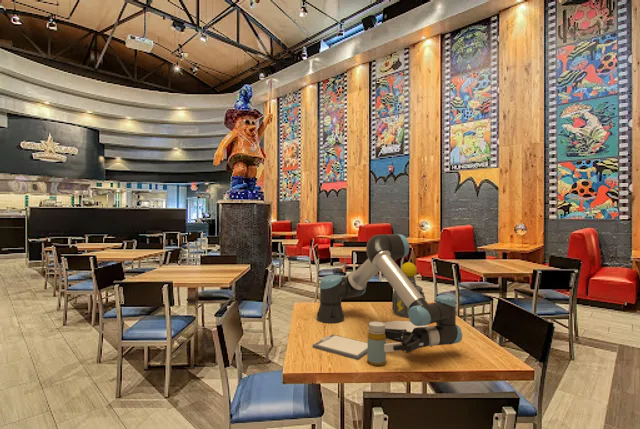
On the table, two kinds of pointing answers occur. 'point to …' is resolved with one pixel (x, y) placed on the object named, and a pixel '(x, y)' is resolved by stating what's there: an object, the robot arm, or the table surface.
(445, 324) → the robot arm
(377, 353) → the bottle
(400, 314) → the decorative lamp
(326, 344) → the clipboard
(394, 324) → the plate
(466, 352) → the table surface
